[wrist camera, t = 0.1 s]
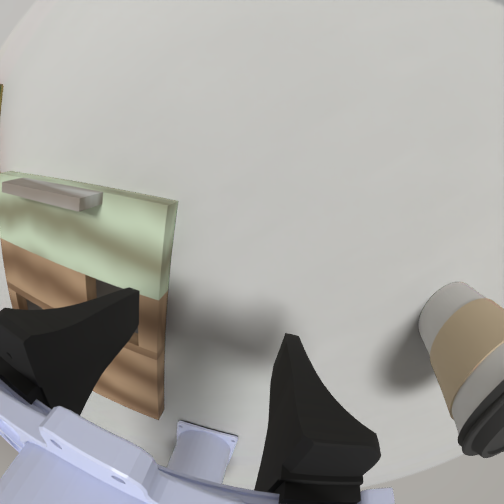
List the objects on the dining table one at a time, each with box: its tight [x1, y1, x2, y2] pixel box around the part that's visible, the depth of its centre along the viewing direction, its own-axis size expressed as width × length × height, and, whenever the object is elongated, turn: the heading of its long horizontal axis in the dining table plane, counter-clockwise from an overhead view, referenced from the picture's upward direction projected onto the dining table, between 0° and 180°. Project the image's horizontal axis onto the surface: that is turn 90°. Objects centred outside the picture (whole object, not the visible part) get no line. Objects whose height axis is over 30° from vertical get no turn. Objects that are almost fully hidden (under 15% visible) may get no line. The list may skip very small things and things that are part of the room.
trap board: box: [0, 171, 178, 420], centre depth 24 cm, size 26×24×5 cm
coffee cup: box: [418, 282, 504, 458], centre depth 14 cm, size 9×9×15 cm
